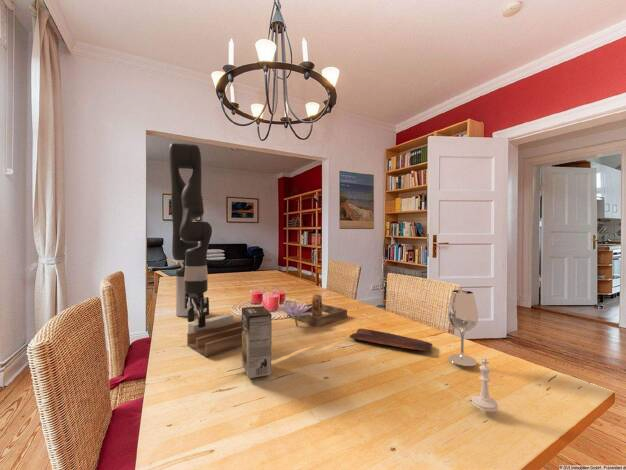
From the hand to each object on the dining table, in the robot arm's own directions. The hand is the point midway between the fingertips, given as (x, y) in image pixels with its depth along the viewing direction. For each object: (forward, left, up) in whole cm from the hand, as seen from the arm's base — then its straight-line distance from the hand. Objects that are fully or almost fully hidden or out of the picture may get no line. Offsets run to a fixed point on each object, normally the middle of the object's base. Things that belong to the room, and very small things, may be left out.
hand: (196, 324), depth 105 cm
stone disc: (+13, +48, -5) cm, 50 cm away
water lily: (+15, +33, -5) cm, 37 cm away
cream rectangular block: (+1, +5, -5) cm, 7 cm away
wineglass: (+73, +46, -5) cm, 86 cm away
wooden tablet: (+49, +49, -4) cm, 70 cm away
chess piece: (+84, +26, -5) cm, 88 cm away
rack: (+12, +5, -5) cm, 13 cm away
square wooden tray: (+13, +48, -5) cm, 50 cm away
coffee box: (+35, +1, -5) cm, 35 cm away
